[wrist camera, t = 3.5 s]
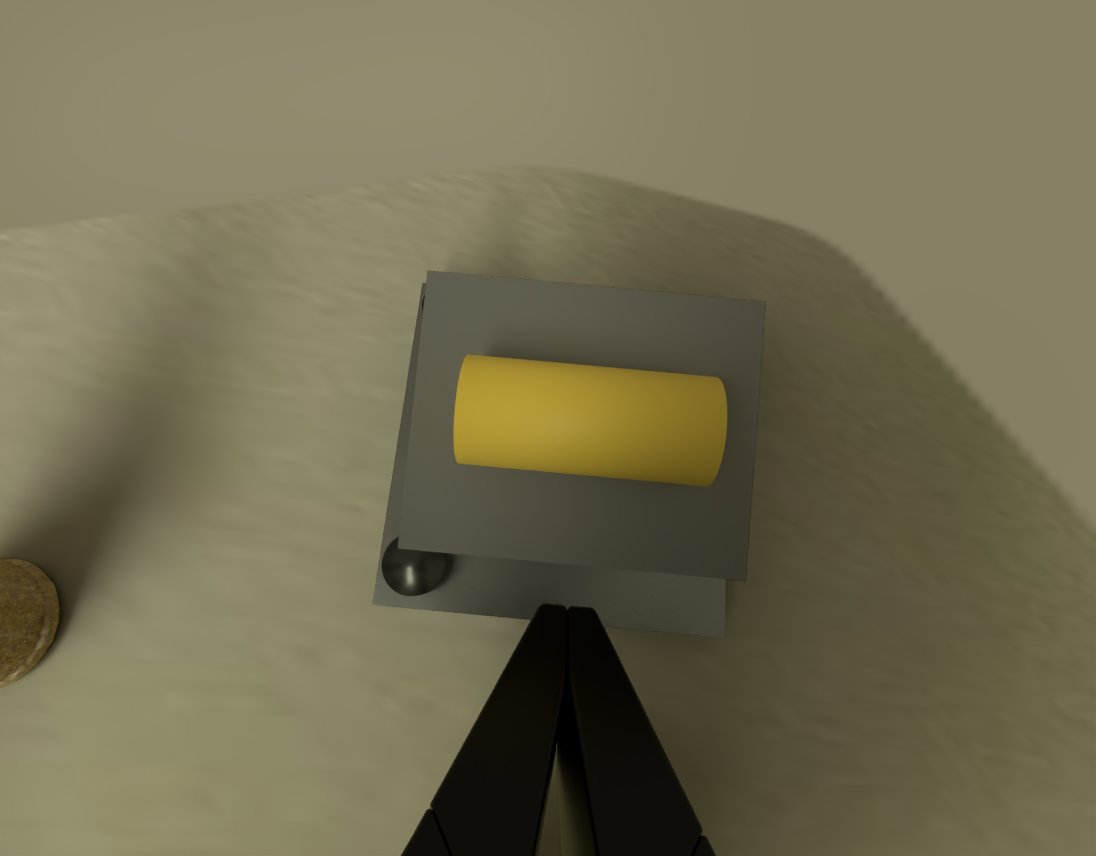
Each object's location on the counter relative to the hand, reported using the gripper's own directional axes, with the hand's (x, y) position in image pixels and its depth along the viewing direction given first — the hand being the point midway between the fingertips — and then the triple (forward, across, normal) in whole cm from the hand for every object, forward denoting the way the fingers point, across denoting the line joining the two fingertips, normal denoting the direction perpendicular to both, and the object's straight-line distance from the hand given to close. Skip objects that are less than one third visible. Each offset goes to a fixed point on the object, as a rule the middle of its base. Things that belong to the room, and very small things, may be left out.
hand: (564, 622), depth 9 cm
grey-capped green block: (+11, 0, +4) cm, 11 cm away
